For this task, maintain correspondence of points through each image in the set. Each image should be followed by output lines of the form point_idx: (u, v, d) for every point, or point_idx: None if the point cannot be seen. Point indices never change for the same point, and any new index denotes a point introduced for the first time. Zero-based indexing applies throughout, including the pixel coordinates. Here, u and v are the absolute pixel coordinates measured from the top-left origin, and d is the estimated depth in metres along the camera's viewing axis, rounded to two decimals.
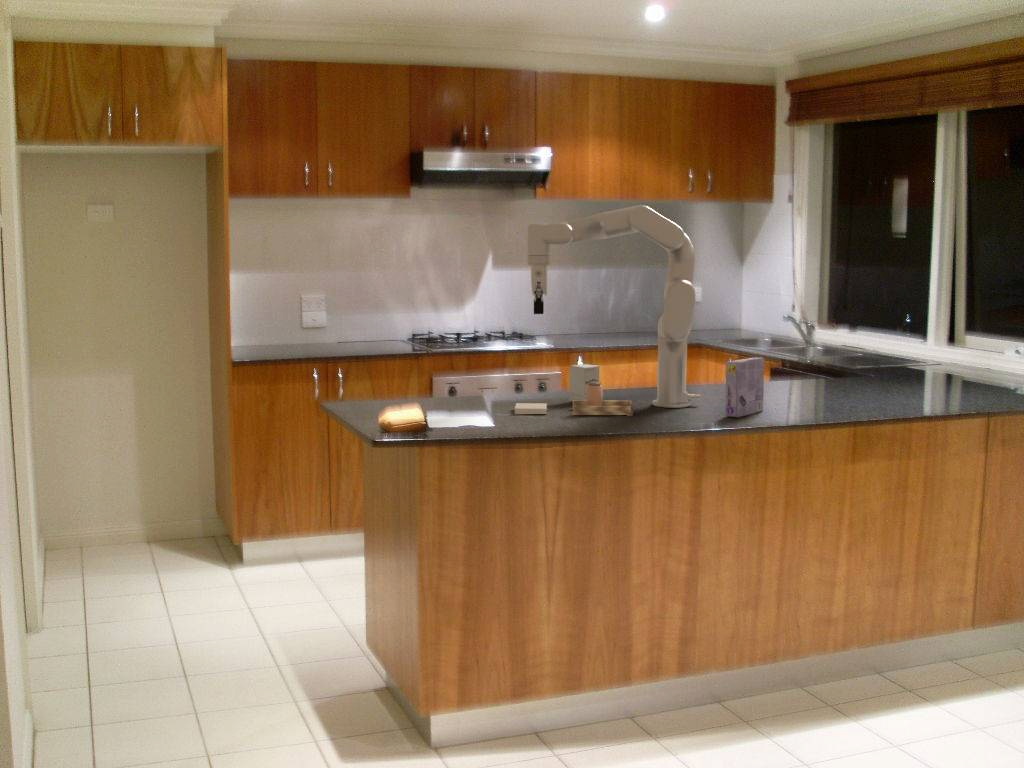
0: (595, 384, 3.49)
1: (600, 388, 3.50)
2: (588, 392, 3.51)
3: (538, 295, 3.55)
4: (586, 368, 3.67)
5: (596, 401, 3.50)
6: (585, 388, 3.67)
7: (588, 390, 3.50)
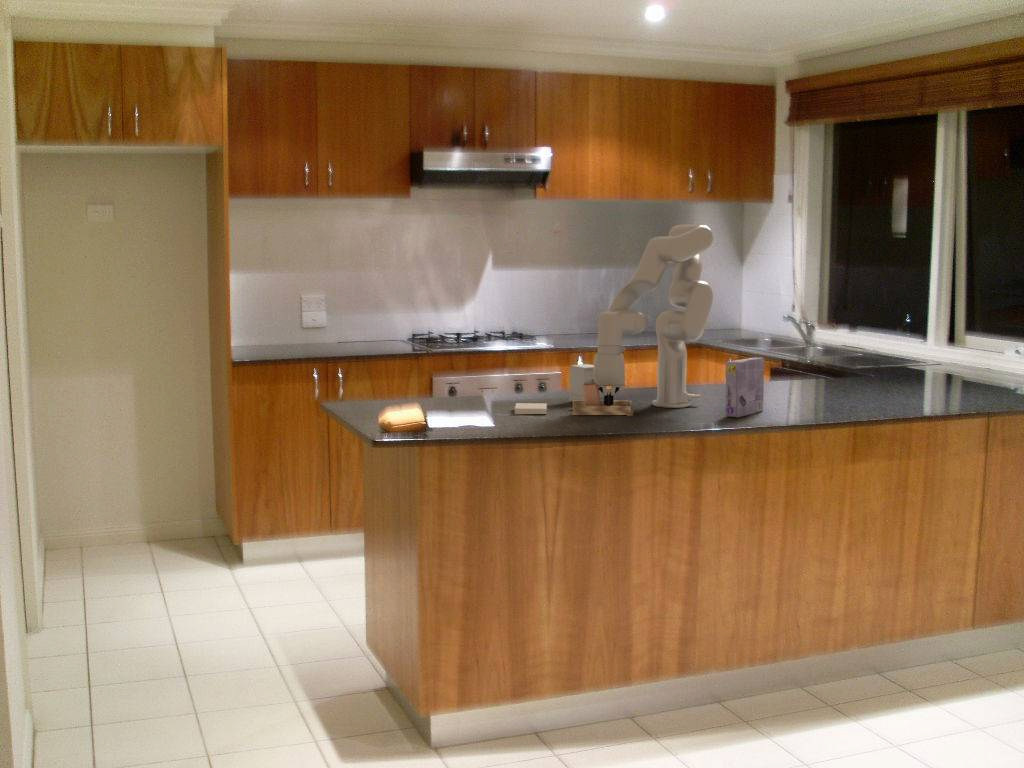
0: (590, 383, 3.49)
1: (595, 386, 3.50)
2: (584, 392, 3.51)
3: None
4: (586, 368, 3.67)
5: (594, 400, 3.50)
6: None
7: (584, 390, 3.50)
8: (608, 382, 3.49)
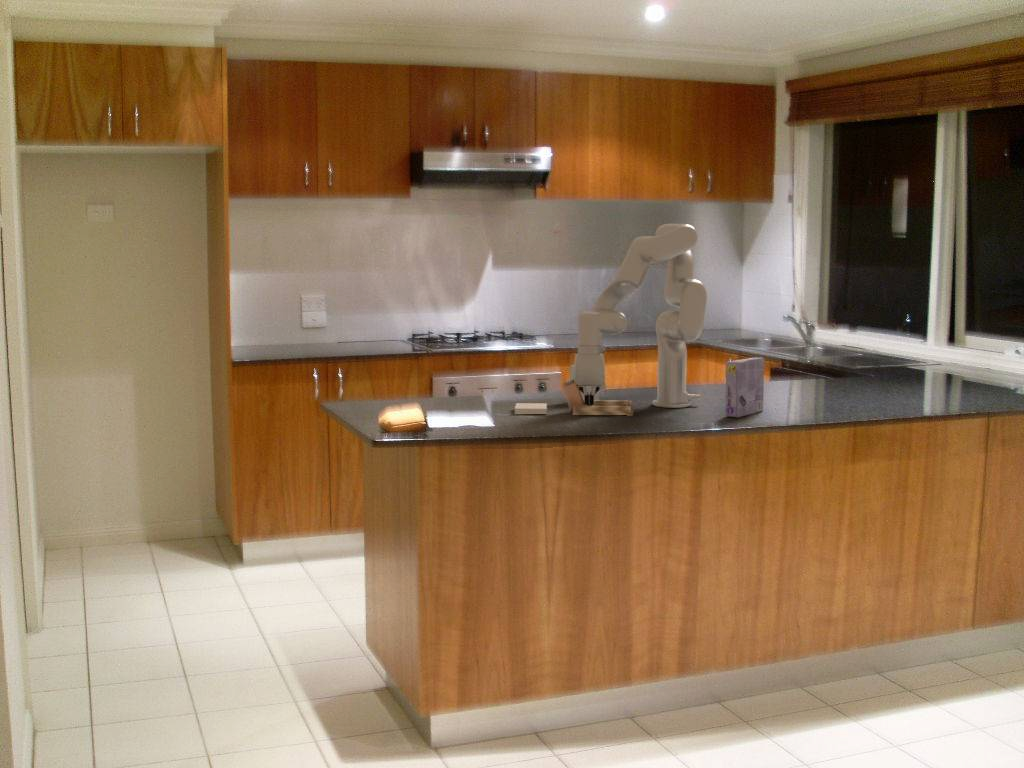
0: (569, 383, 3.50)
1: (575, 385, 3.50)
2: (565, 393, 3.51)
3: None
4: None
5: (576, 399, 3.50)
6: None
7: (565, 391, 3.51)
8: (588, 382, 3.49)
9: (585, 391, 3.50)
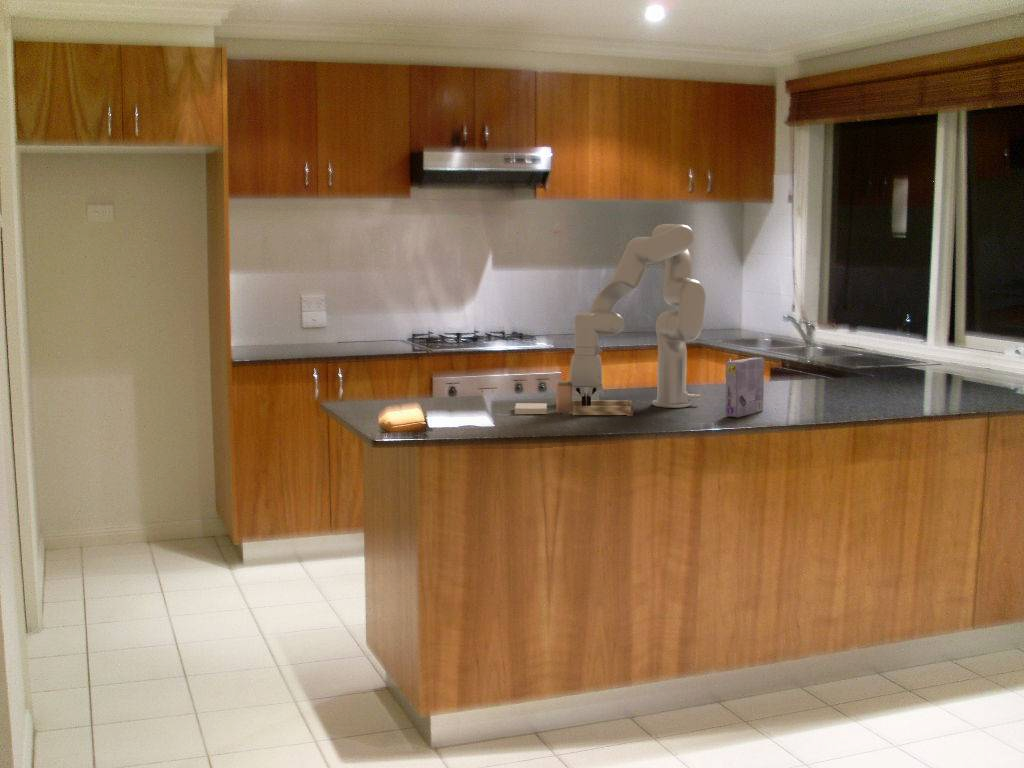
0: (565, 384, 3.50)
1: (570, 388, 3.50)
2: (558, 392, 3.51)
3: None
4: None
5: (566, 401, 3.50)
6: (585, 388, 3.67)
7: (558, 390, 3.51)
8: (585, 383, 3.49)
9: (582, 392, 3.51)
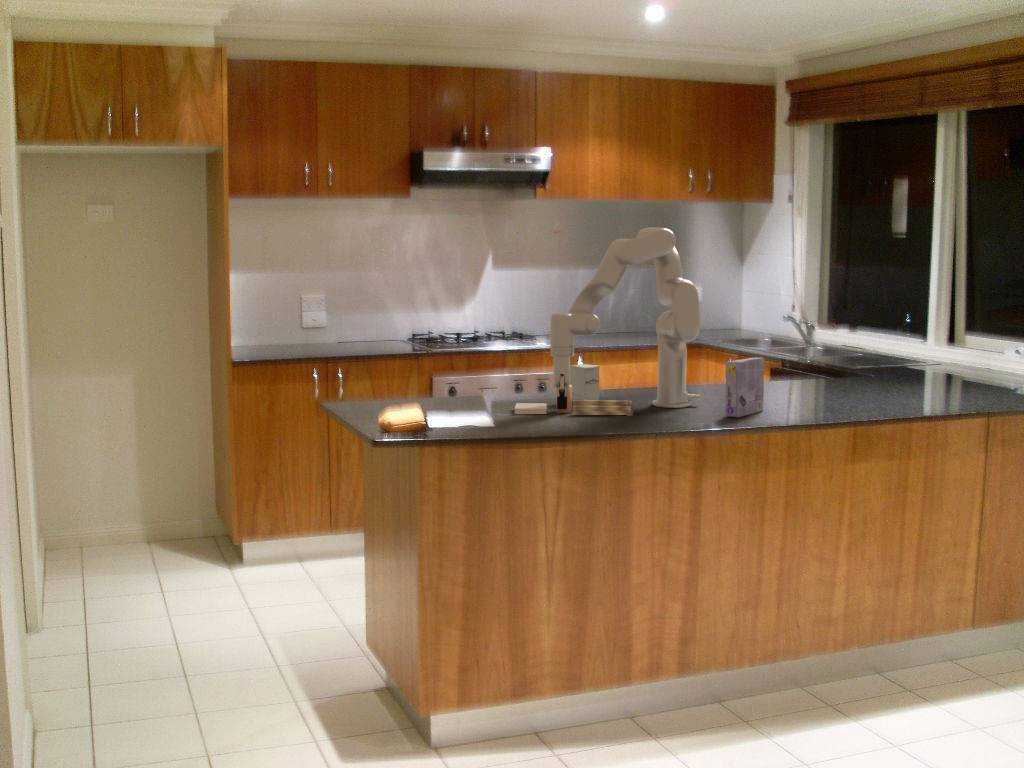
0: None
1: (570, 388, 3.50)
2: None
3: None
4: (586, 368, 3.67)
5: None
6: (585, 388, 3.67)
7: None
8: None
9: None
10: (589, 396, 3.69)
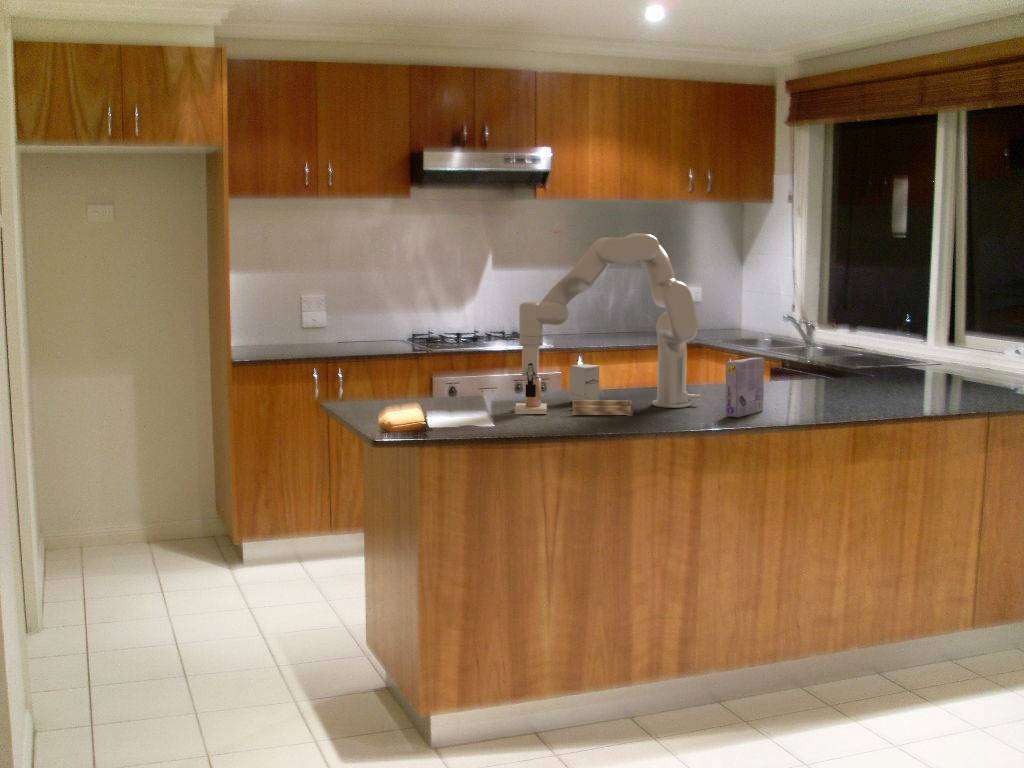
0: None
1: (539, 381, 3.51)
2: None
3: None
4: (586, 368, 3.67)
5: None
6: (585, 388, 3.67)
7: None
8: (537, 372, 3.51)
9: (534, 381, 3.47)
10: (589, 396, 3.69)
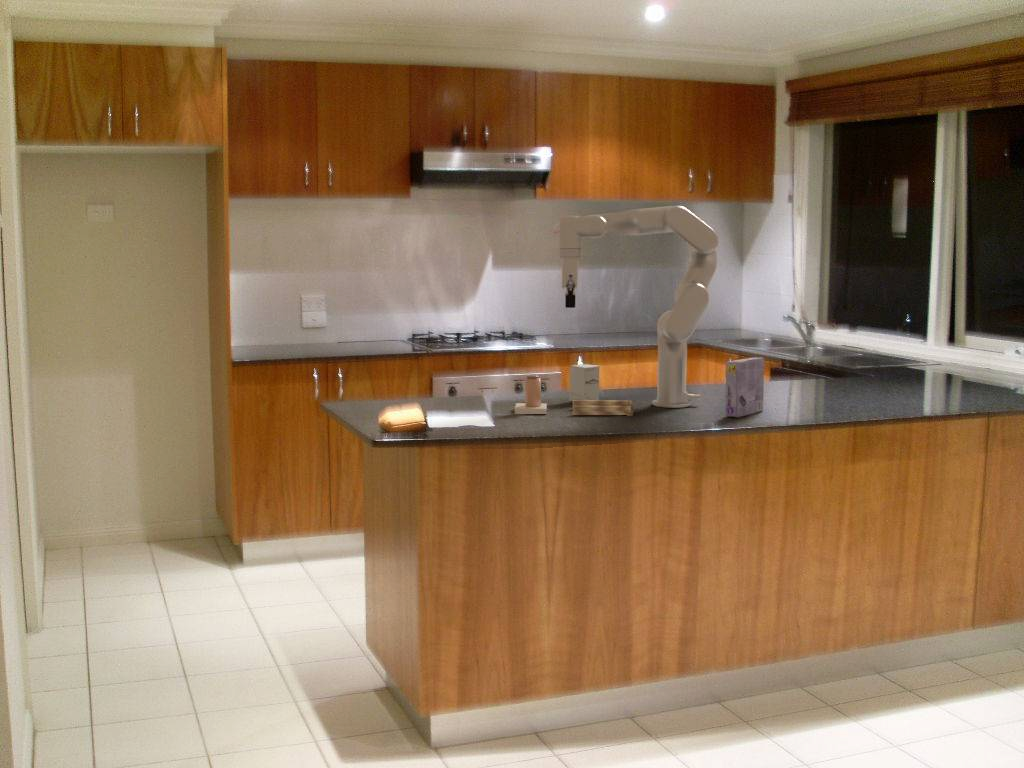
0: (534, 377, 3.50)
1: (539, 381, 3.51)
2: (527, 385, 3.51)
3: None
4: (586, 368, 3.67)
5: (535, 394, 3.50)
6: (585, 388, 3.67)
7: (527, 383, 3.51)
8: None
9: (574, 291, 3.53)
10: (589, 396, 3.69)
